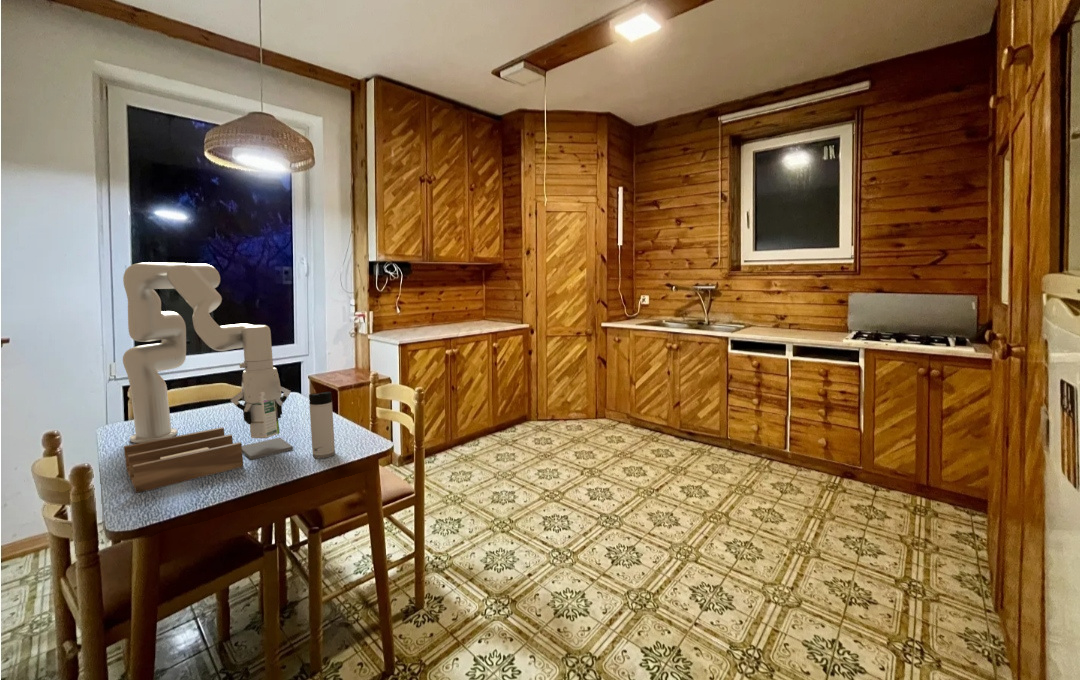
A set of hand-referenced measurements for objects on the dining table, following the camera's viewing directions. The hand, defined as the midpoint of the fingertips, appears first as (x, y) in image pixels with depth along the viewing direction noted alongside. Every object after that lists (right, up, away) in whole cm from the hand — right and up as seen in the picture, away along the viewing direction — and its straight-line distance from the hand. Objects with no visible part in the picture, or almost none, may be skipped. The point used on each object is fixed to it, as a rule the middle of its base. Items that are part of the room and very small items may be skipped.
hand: (263, 419), depth 153 cm
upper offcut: (-11, -10, -17) cm, 23 cm away
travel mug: (+20, -10, -3) cm, 23 cm away
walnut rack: (-15, -12, -13) cm, 23 cm away
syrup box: (0, -5, 0) cm, 5 cm away
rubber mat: (0, -10, +1) cm, 10 cm away
